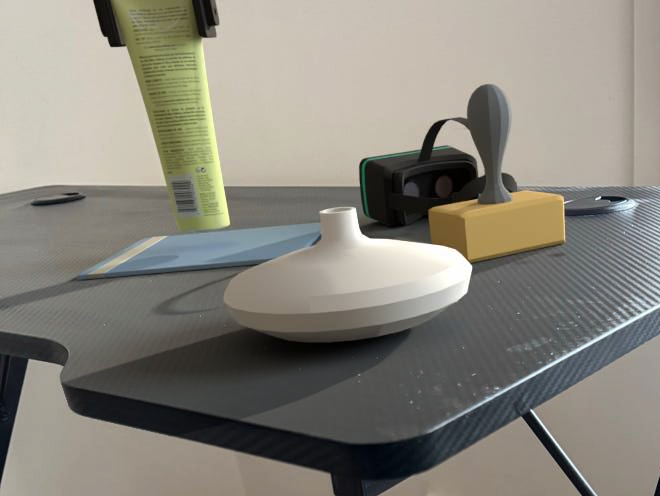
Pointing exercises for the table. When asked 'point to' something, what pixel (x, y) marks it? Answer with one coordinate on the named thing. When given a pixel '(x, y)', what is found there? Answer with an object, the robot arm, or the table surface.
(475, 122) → the rubber stamp
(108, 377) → the table surface
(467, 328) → the table surface
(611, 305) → the table surface
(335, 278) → the vase
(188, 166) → the tube
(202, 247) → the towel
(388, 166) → the virtual reality headset
